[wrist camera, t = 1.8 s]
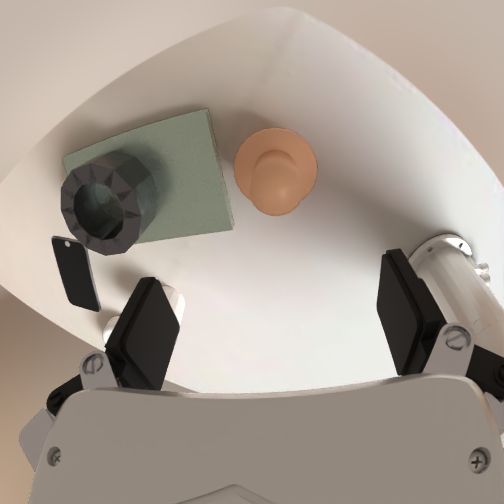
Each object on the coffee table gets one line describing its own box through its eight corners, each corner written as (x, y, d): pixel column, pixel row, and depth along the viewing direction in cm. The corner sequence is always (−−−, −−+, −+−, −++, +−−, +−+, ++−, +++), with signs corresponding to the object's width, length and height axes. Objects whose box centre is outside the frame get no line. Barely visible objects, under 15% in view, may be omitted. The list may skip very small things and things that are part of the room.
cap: (307, 119, 27) (322, 134, 19) (315, 189, 31) (331, 231, 23) (231, 130, 28) (212, 150, 20) (245, 198, 32) (234, 243, 24)
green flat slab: (207, 108, 27) (191, 113, 21) (234, 224, 34) (226, 253, 29) (68, 155, 30) (37, 171, 25) (102, 244, 37) (79, 270, 32)
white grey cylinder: (140, 283, 41) (122, 315, 35) (180, 280, 40) (166, 315, 34) (156, 316, 44) (142, 348, 38) (194, 314, 43) (184, 349, 37)
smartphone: (84, 242, 37) (101, 313, 45) (87, 240, 38) (103, 311, 46) (49, 235, 37) (69, 304, 45) (52, 233, 38) (71, 301, 46)
